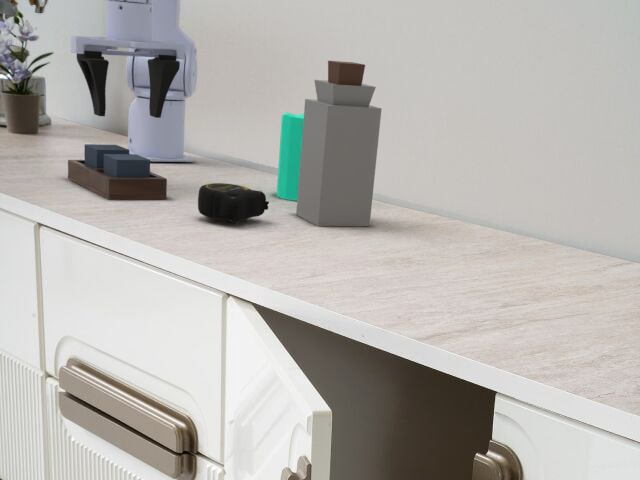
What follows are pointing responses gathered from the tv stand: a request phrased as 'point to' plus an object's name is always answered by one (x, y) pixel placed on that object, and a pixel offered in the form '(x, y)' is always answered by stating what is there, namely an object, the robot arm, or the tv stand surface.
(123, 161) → the dark blue cube
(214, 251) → the tv stand surface
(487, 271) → the tv stand surface
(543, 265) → the tv stand surface
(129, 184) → the holder
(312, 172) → the perfume bottle
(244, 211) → the tape measure
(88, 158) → the slate blue cube
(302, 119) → the candle
